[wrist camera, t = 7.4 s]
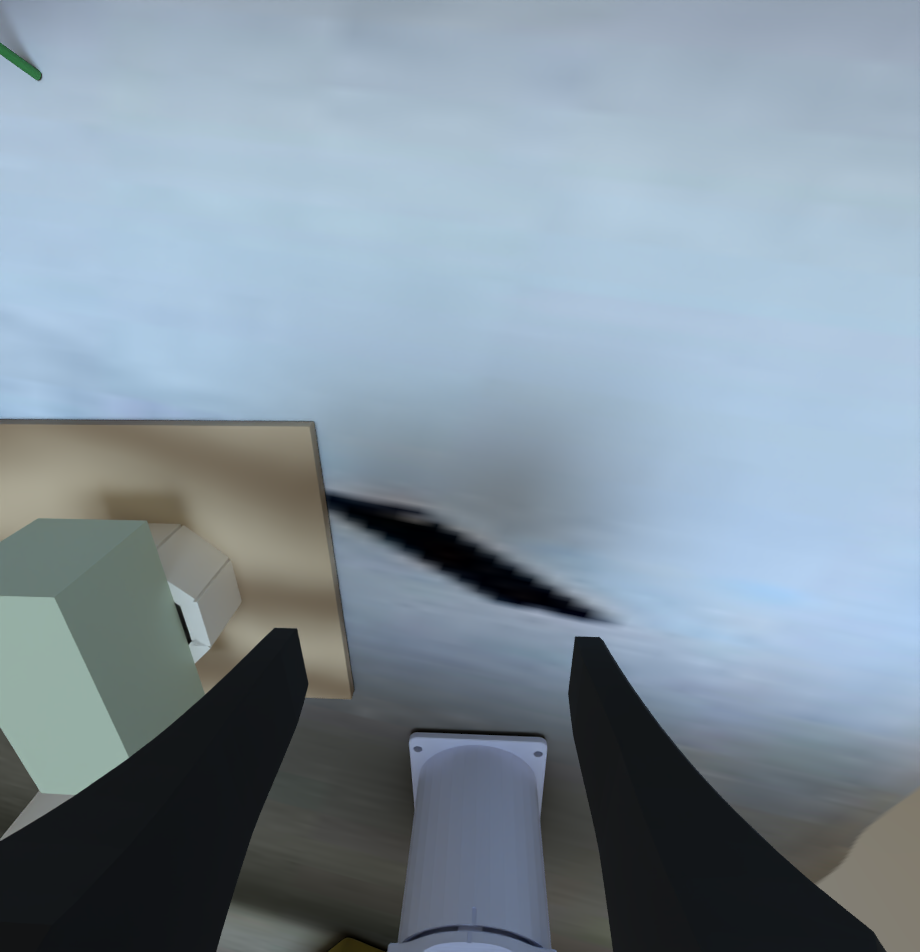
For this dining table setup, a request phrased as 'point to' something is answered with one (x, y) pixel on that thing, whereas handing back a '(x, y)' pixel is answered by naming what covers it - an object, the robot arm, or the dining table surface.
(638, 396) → the dining table surface
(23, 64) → the lily
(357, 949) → the flower pot
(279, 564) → the mat
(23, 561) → the green rectangular block
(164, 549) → the white octagonal prism
